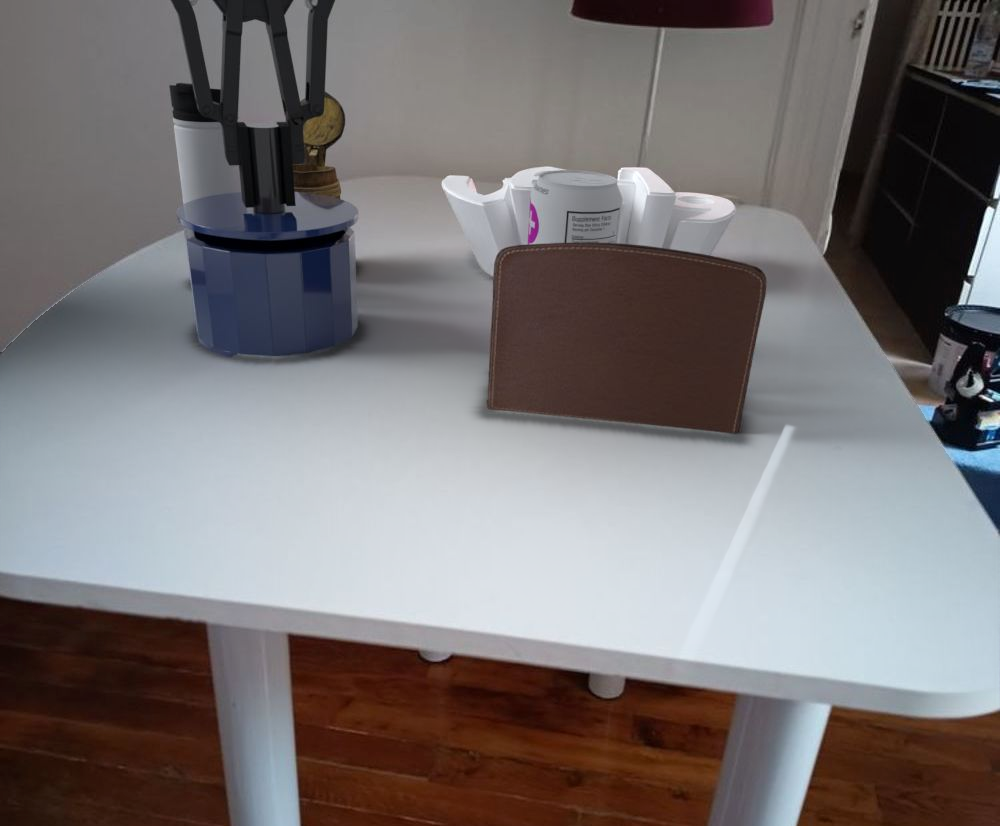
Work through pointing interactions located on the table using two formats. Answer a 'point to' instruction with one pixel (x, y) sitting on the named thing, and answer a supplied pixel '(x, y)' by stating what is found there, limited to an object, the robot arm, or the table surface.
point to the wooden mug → (320, 151)
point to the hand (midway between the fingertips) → (268, 202)
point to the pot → (273, 293)
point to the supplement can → (574, 208)
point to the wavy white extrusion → (644, 218)
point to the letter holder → (623, 334)
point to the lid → (267, 202)
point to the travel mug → (200, 148)
